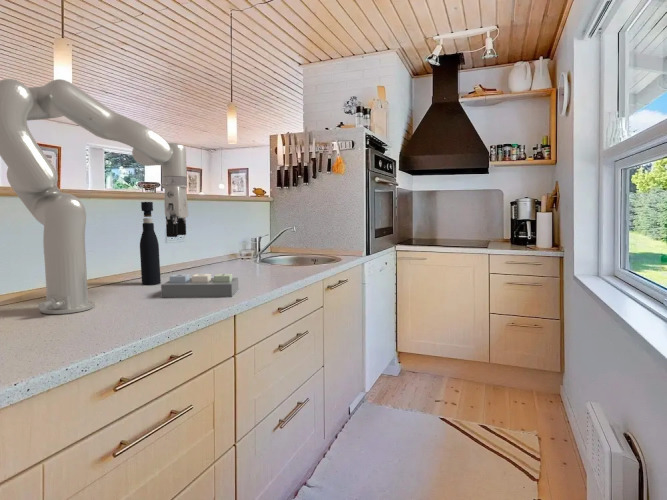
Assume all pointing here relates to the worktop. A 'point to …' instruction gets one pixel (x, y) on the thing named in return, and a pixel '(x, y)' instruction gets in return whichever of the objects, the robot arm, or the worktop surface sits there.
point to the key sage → (222, 278)
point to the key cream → (201, 278)
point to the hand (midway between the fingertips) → (176, 235)
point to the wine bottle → (149, 249)
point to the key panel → (199, 289)
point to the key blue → (180, 278)
